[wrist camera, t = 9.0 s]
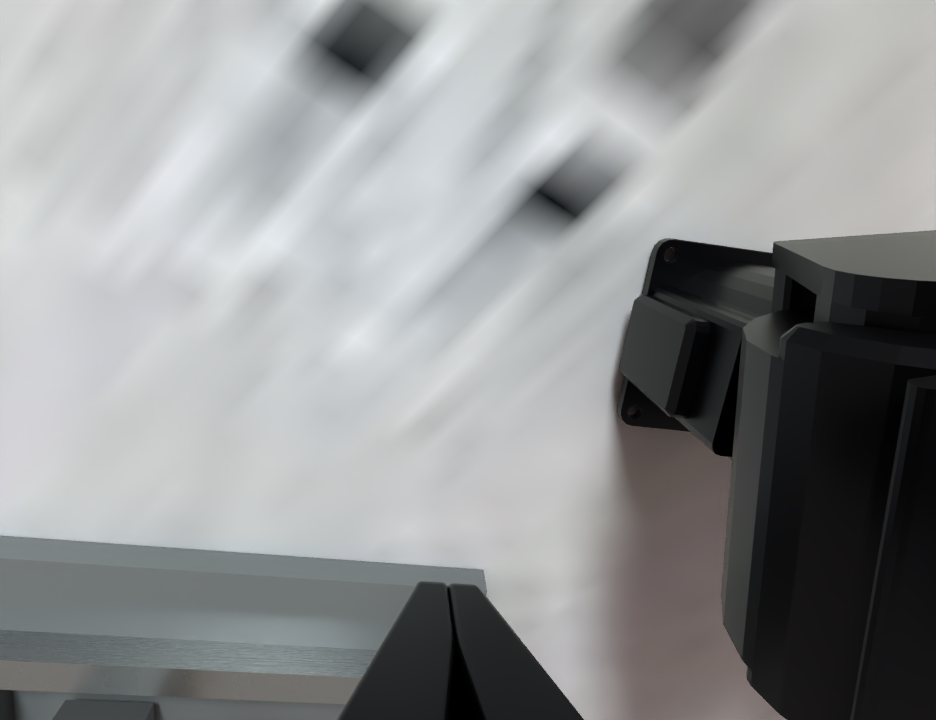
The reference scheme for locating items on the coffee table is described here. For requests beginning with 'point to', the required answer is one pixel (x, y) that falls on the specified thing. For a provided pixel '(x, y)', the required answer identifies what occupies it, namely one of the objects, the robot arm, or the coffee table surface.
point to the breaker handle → (104, 710)
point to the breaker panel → (193, 628)
